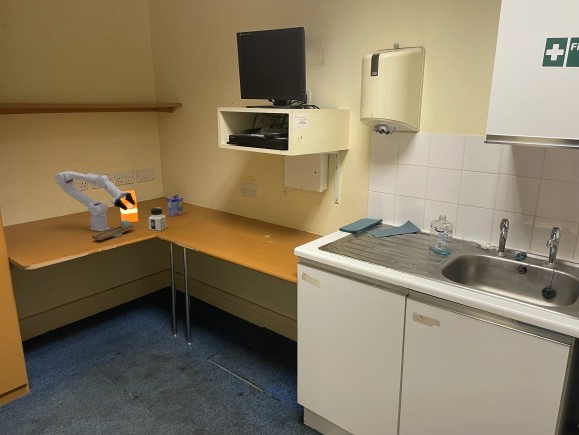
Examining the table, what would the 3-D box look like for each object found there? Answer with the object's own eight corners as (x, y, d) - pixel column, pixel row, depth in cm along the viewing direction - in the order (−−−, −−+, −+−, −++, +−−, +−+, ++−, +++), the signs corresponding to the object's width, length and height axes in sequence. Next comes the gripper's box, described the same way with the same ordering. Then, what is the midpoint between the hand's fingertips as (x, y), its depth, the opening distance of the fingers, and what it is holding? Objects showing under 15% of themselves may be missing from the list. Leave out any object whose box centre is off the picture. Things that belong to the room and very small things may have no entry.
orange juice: (138, 221, 293) (135, 191, 288) (124, 223, 289) (121, 192, 283) (134, 218, 300) (132, 189, 294) (121, 220, 295) (118, 190, 290)
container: (160, 230, 272) (159, 210, 269) (149, 229, 274) (147, 209, 270) (166, 227, 280) (165, 207, 276) (155, 226, 281) (153, 206, 278)
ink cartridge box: (173, 217, 304) (171, 196, 300) (167, 215, 307) (166, 195, 303) (184, 214, 312) (182, 193, 308) (178, 213, 315) (177, 192, 311)
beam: (91, 241, 251) (90, 235, 250) (124, 229, 274) (124, 223, 273) (101, 243, 248) (101, 236, 247) (135, 231, 271) (134, 225, 270)
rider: (121, 227, 268) (120, 221, 267) (125, 226, 271) (125, 219, 270) (124, 228, 267) (124, 221, 266) (129, 226, 270) (129, 220, 269)
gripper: (108, 191, 258) (125, 207, 258) (124, 182, 270) (141, 198, 271) (103, 199, 262) (120, 214, 262) (119, 190, 274) (136, 205, 274)
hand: (130, 206), depth 267 cm, fingers open, 7 cm apart
